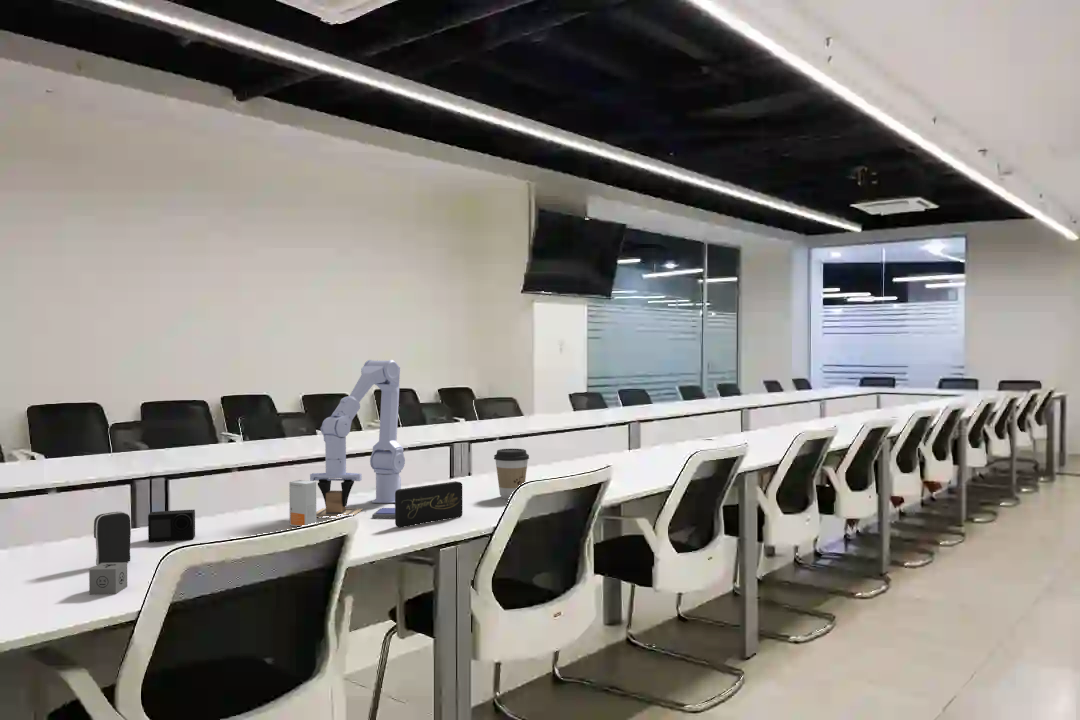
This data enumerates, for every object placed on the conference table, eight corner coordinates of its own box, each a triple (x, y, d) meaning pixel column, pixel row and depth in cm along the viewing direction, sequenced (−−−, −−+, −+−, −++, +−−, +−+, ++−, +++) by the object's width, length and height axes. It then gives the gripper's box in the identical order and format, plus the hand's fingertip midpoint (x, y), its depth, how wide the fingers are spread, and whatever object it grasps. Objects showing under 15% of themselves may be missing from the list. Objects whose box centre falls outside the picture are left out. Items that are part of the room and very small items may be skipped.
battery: (125, 559, 186) (124, 509, 186) (131, 562, 184) (131, 511, 183) (92, 565, 181) (91, 513, 181) (98, 568, 178) (97, 516, 178)
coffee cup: (514, 502, 253) (514, 453, 253) (486, 498, 260) (486, 450, 260) (536, 496, 262) (536, 449, 262) (509, 492, 269) (509, 447, 269)
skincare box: (288, 526, 220) (288, 481, 220) (300, 523, 224) (300, 479, 224) (305, 528, 217) (305, 483, 217) (317, 525, 221) (316, 481, 221)
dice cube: (127, 587, 165) (127, 562, 165) (115, 594, 160) (115, 569, 160) (101, 587, 165) (101, 562, 164) (89, 595, 160) (89, 569, 160)
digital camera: (146, 544, 201) (146, 515, 201) (150, 539, 206) (150, 511, 206) (192, 541, 204) (192, 513, 204) (195, 536, 209) (194, 508, 209)
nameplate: (399, 528, 218) (398, 490, 217) (395, 527, 219) (395, 489, 219) (462, 517, 232) (462, 481, 232) (458, 516, 233) (458, 480, 233)
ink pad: (380, 511, 239) (380, 507, 239) (411, 512, 238) (411, 507, 238) (372, 518, 230) (372, 513, 230) (403, 518, 229) (403, 513, 229)
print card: (322, 509, 243) (322, 507, 242) (362, 509, 242) (362, 508, 242) (308, 518, 231) (308, 516, 231) (350, 518, 230) (350, 516, 230)
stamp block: (330, 511, 238) (330, 490, 238) (345, 511, 238) (345, 490, 238) (325, 514, 234) (325, 493, 234) (341, 514, 233) (340, 493, 233)
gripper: (306, 460, 232) (306, 508, 233) (356, 460, 231) (356, 508, 232) (314, 457, 239) (315, 503, 240) (363, 457, 238) (363, 503, 239)
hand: (336, 505), depth 236 cm, fingers closed on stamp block, 4 cm apart
